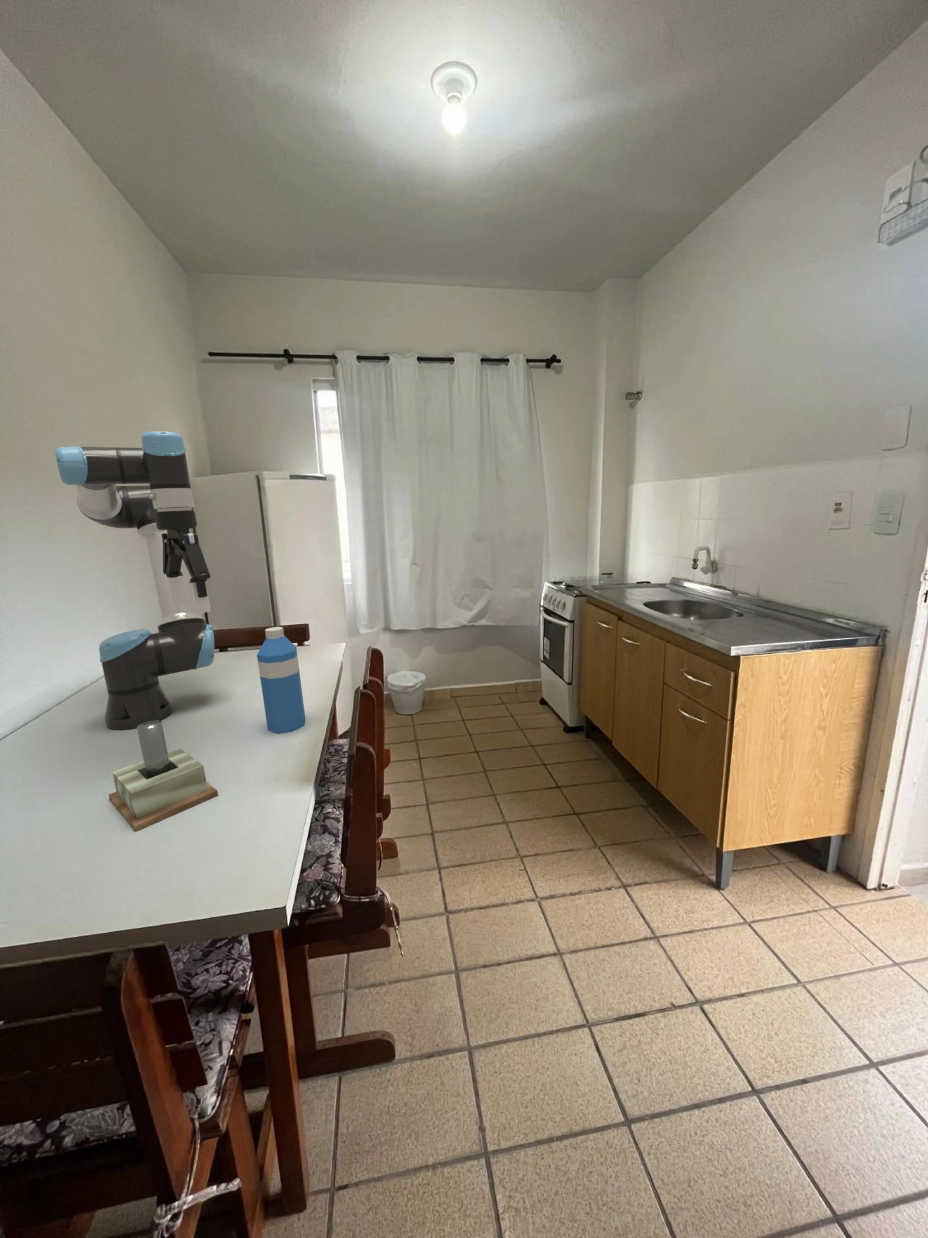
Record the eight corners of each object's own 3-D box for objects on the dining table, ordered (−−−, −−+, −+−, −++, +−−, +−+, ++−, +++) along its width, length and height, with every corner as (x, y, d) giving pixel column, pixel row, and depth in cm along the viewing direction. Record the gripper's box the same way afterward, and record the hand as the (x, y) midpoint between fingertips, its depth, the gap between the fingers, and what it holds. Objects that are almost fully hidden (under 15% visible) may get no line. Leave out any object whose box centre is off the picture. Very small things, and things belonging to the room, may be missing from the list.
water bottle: (294, 734, 123) (281, 634, 117) (259, 732, 125) (244, 633, 119) (313, 718, 132) (301, 624, 126) (280, 717, 134) (267, 624, 128)
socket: (109, 799, 99) (103, 770, 97) (186, 769, 109) (181, 743, 107) (135, 831, 88) (128, 800, 87) (218, 795, 98) (213, 766, 97)
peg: (147, 793, 98) (133, 725, 95) (170, 784, 101) (157, 718, 98) (154, 800, 95) (141, 731, 92) (177, 791, 98) (165, 723, 95)
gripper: (136, 511, 113) (153, 605, 118) (176, 509, 96) (195, 619, 101) (172, 510, 118) (188, 600, 123) (217, 507, 102) (233, 612, 106)
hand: (191, 609), depth 112 cm, fingers open, 13 cm apart
